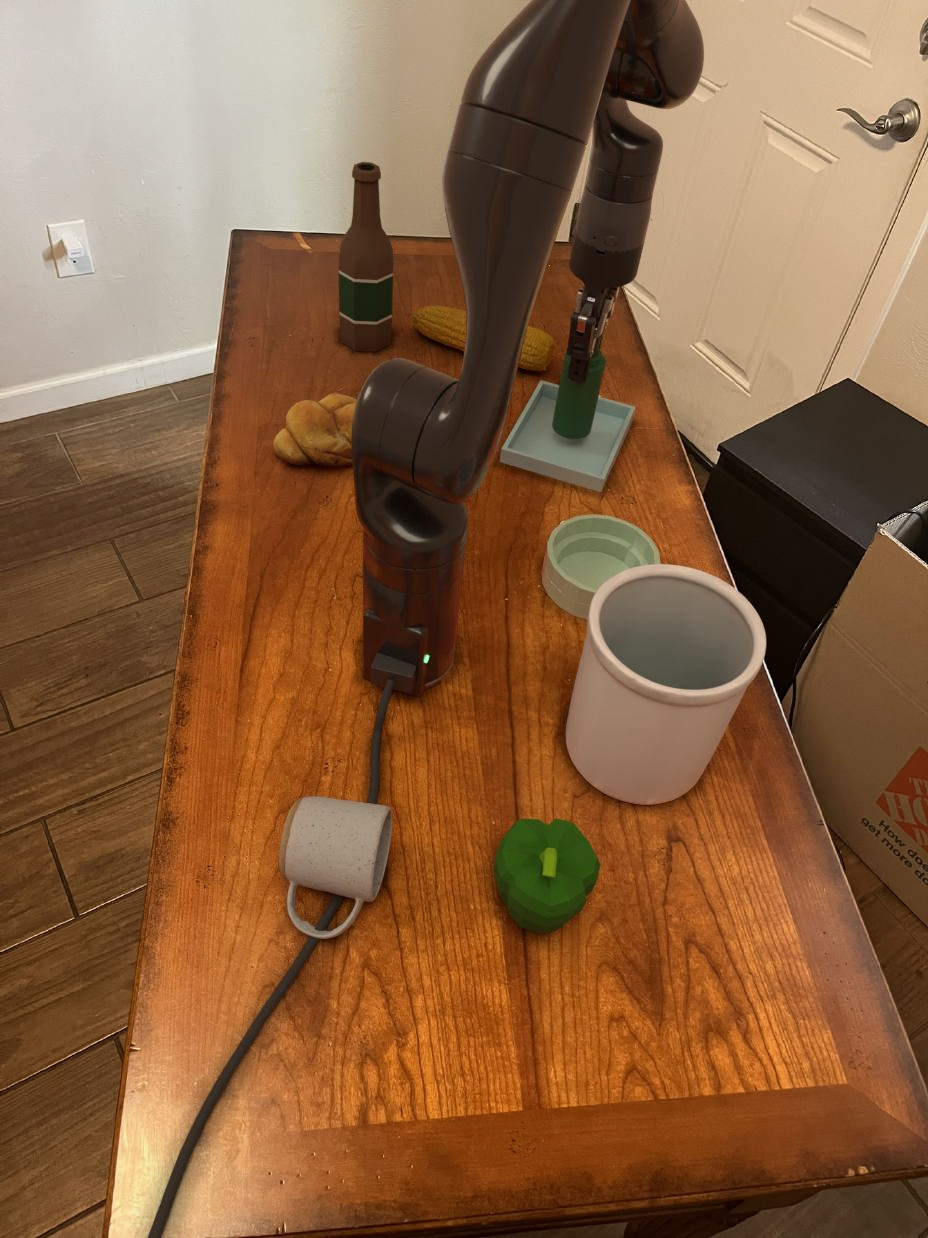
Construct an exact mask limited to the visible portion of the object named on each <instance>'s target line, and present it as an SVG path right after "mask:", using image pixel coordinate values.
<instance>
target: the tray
mask: <svg viewBox="0 0 928 1238" xmlns="http://www.w3.org/2000/svg"><path fill="white" fill-rule="evenodd" d="M558 389H559V384H556V383H552V382H549V381H547V380H546V381H545V380H542V379H540V381H539V383H538V384H537V386H536V387H535V389H534V391H533V393H532V395H531V396H530V398H529V400H528V401H527V403H526V405H525V407H524V408H523V410H522V411H521V414H520V415H519V417H518V419H517V420H516V422H515V424H514V426H513V427H512V429H511V431H510V433H509V435H508V437H507V438H506V440H505V441H504V443H503V445H502V446H501V449H500V456H499V462H500V463H503V464H505V465H509V466H513V467H516V468H519V469H522V470H526V471H530V472H533V473H535V474H539V475H541V476H542V475H543V476H545V477H549V478H552V479H556V480H559V481H561V482H562V481H563V482H566V483H569V484H572V485H576V486H579V487H583V488H585V489H588V490H593V491H596V492H598V493H602V491H603V489H604V487H605V485H606V482H607V480H608V478H609V475H610V473H611V471H612V469H613V467H614V465H615V463H616V461H617V458H618V456H619V454H620V451H621V449H622V446H623V444H624V442H625V439H626V437H627V435H628V433H629V430H630V427H631V426H632V423H633V421H634V417H635V413H636V408H637V407H636V406H634V405H631V404H627V403H623V402H619V401H616V400H613V399H609V398H605V397H602V396H599V397H598V401H597V406H596V410H595V415H594V419H593V424H592V428H591V432H590V434H589V435H588V436H586V437H585V438H582V439H568V438H564V437H562V436H560V435H558V434H557V433H556V432H555V431H554V430H553V428H552V422H553V416H554V411H555V405H556V400H557V394H558Z"/></svg>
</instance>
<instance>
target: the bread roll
mask: <svg viewBox="0 0 928 1238" xmlns="http://www.w3.org/2000/svg"><path fill="white" fill-rule="evenodd" d="M356 402H357V399H356V398H354V397H352V396H350V395H347V394H341V393H338V392H332V393H330V394H328V395H326V396H325V397H323V398H322V399H320V400H318V402H317V401H314V400H311V399H305V400H301V401H298V402H296V403H295V404H294V405H292V406H291V407H290V408H289V410H288V412H287V413H286V416H285V427H284V428H282V429H280V431H279V432H278V433H277V434H276V435H275V437H274V439H273V441H272V442H273V443H272V447H273V450H274V453H275V455H276V456H277V457H278V458H279V459H280V460H281V461H283V462H286V463H288V464H290V465H295V466H306V465H307V466H309V465H313V464H316V465H319V466H324V467H347V466H350V465H352V449H351V435H352V421H353V415H354V410H355V406H356Z"/></svg>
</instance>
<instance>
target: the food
mask: <svg viewBox="0 0 928 1238" xmlns="http://www.w3.org/2000/svg"><path fill="white" fill-rule="evenodd" d="M414 311H415V312H413V315H412V316H411V317H412V323H413V325H414V328H416V329H417V330H418V332H419V333H421V334H422V335H423V336H425V337H426V338H428V339H430V340H433V341H434V342H438V343H440V344H443V345H445V346H446V347H451V348H452V349H453V348H454V349H457V350H459V351H462V352H464V348H465V338H466V310H462V309H458V308H456V307H453V308H452V307H451V306H442V305H427V306H425V305H424V306H422V307H421V308H417V309H415V310H414ZM556 344H557V343H556V340H554V337H552V336H551V335H550V334H548V333H547V332H546V331H544V330H542V329H539V328H536V327H532V326H530V325H528V328H527V332H526V336H525V340H524V344H523V348H522V352H521V357H520V361H519V365H518V369H519V368H520V369H523V370H526V371H527V370H529V371H534V372H545V371H547V367H548V366H549V365H550V364H551V362H552V359H553V358H554V357H555V355H556V354H555V351H556Z"/></svg>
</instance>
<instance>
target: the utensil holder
mask: <svg viewBox="0 0 928 1238" xmlns="http://www.w3.org/2000/svg"><path fill="white" fill-rule="evenodd" d="M764 626H765V625H764V623H763V621H762V619H761V617H760V615H759V613H758V612H757V610H756V609H755V608H754V605H752V603H751V602H750V601H749V599H748V598H747V597H746V596H744V595H743V594H742V593H741V592H740V591H739V590H737V589H736V588H735V587H734V586H732V585H731V584H729V583H728V582H726V581H724V580H723V579H721V578H719V577H717V576H715V575H713V574H711V573H708V572H706V571H703V570H700V569H697V568H693V567H689V566H685V565H677V564H667V563H661V564H653V565H643V566H638V567H633V568H630V569H627V570H624V571H622V572H620V573H617V574H616V575H614V576H612V577H611V578H609V579H608V580H607V581H606V582H604V583H603V584H602V585H601V586H600V587H599V589H598V590H597V592H596V593H595V594H594V596H593V598H592V601H591V604H590V607H589V611H588V617H587V620H586V634H585V639H584V643H583V647H582V650H581V655H580V659H579V664H578V668H577V672H576V676H575V680H574V684H573V688H572V694H571V699H570V703H569V708H568V713H567V719H566V726H565V745H566V748H567V752H568V755H569V757H570V760H571V762H572V764H573V766H574V767H575V769H576V770H577V772H579V774H580V775H581V776H582V778H584V779H585V781H587V783H589V784H590V785H591V786H592V787H594V788H595V789H597V790H598V791H599V792H601V793H602V794H605V795H606V796H608V797H611V798H613V799H615V800H617V801H621V802H625V803H628V804H629V803H630V804H634V805H641V806H643V805H645V806H648V805H649V806H650V805H659V804H665V803H668V802H672V801H674V800H676V799H679V798H680V797H682V796H684V795H685V794H687V793H688V792H689V791H690V790H691V789H692V788H694V786H695V785H697V783H698V781H699V780H700V778H701V777H702V775H703V774H704V772H705V770H706V768H707V766H708V765H709V763H710V762H711V760H712V758H713V756H714V754H715V752H716V750H717V749H718V746H719V744H720V743H721V741H722V739H723V736H724V734H725V732H726V730H727V728H728V726H729V724H730V722H731V721H732V718H733V716H734V714H735V712H736V710H737V708H738V707H739V705H740V703H741V700H742V699H743V697H744V695H745V693H746V690H747V688H748V687H749V685H751V683H752V682H753V681H754V680H755V678H756V677H757V675H758V673H759V672H760V670H761V668H762V665H763V663H764V659H765V656H766V651H767V634H766V630H765V627H764Z"/></svg>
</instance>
